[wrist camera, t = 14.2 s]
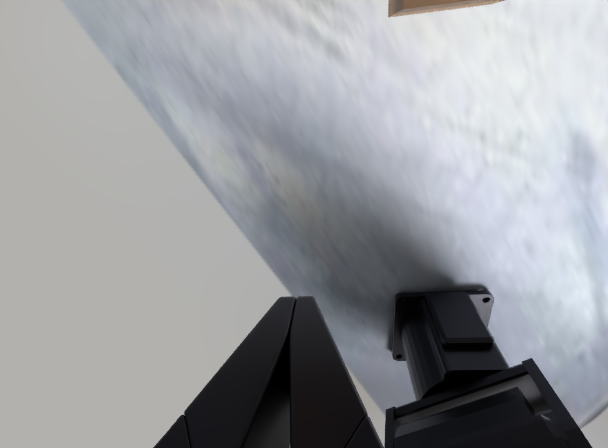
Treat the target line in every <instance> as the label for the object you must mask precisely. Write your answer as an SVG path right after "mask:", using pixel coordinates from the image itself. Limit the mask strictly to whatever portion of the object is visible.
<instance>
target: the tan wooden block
mask: <svg viewBox="0 0 608 448" xmlns="http://www.w3.org/2000/svg"><path fill="white" fill-rule="evenodd" d="M501 1H504V0H389V8H388V17H395V16H403V15H410V14H418V13H426V12H434V11H442V10H450V9H457V8H465V7H473V6H481V5H489V4H493V3H497V2H501Z"/></svg>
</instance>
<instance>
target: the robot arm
mask: <svg viewBox="0 0 608 448" xmlns="http://www.w3.org/2000/svg"><path fill="white" fill-rule="evenodd" d="M485 297H487V298H485ZM483 298H485V299H483ZM400 300H404V301H400ZM493 302H494V297H493V296H492V294H491V293H490V292H489V291H486V290H481V291H449V292H418V293H399V294H397V295H396V296H395V298H394V316H393V337H392V356H393V359H394V360H396V361H406V362H407V366H408V370H409V374H410V378H411V382H412V386H413V390H414V394H415V398H416V401H414V402H411V403H408V404H405V405H403V406H400V407H397V408H396V407H392V408H389V409H386V422H385V448H592V446H591V445H590V443H589V442H588V440H587V439H586V438H585V436H584V434H583V433H582V431H581V430H580V428H579V427H578V425H577V424H576V422H575V421H574V419H573V418H572V417H571V415H570V414H569V412H568V411H567V409H566V408H565V406H564V405H563V403H562V402H561V400H560V399H559V397H558V396H557V394H556V393H555V391H554V390H553V389H552V387H551V386H550V384H549V383H548V381H547V380H546V378H545V377H544V375H543V374H542V372H541V371H540V369H539V368H538V366H537V365H536V363H535V362H534V361H533V359H532V358H530V359H528V360H525V361H522V364H519V365H516V366H514V367H511V368H510V367H509V365H508V364H507V362H506V360H505V358H504V357H503V355H502V353H501V352H500V350H499V348H498V346H497V345H496V343H495V341H494V338H493V336H492V334H491V333H490V331H489V329H488V323H489V319H490V314H491V310H492V306H493ZM184 415H185V416H184ZM184 415H181V416H180V417H179V418H178V419H177V421H176V422H175V423H174V424H173V425H172V427H171V428H170V429H169V430H168V431H167V433H166V434H165V435H164V436H163V437H162V438H161V439H160V441H159V442H158V443H157V444H156V445H155V446H154V447H153V448H289V447H290V448H384V447H383V445H382V443H381V441H380V439H379V437H378V435H377V432H376V430H375V428H374V426H373V424H372V422H371V419H370V418H369V417H368V416H367V411H366V409H365V407H364V405H363V403H362V400H361V399H360V396H359V394H358V392H357V390H356V387H355V385H354V383H353V381H352V379H351V377H350V375H349V372H348V370H347V368H346V366H345V363H344V361H343V359H342V357H341V355H340V353H339V350H338V348H337V346H336V344H335V342H334V340H333V337H332V335H331V333H330V331H329V329H328V326H327V324H326V322H325V320H324V318H323V316H322V313H321V311H320V309H319V307H318V305H317V303H316V300H315V298H314V297H313V296H299V297H297V299H296V297H280V298H279V299H278V300H277V301H276V302H275V303H274V305H273V306H272V307H271V308H270V309H269V311H268V312H267V313H266V314H265V315H264V316H263V318H262V319H261V320H260V321H259V322H258V324H257V325H256V326H255V327H254V328H253V330H252V331H251V332H250V333H249V334H248V336H247V337H246V338H245V339H244V341H243V342H242V343H241V344H240V345H239V346H238V348H237V349H236V350H235V351H234V353H233V354H232V355H231V356H230V357H229V359H228V360H227V361H226V362H225V363H224V364H223V366H222V367H221V368H220V369H219V371H218V372H217V373H216V374H215V375H214V376H213V378H212V379H211V380H210V381H209V382H208V384H207V385H206V386H205V387H204V388H203V390H202V391H201V392H200V393H199V395H198V396H197V397H196V398H195V399H194V401H193V402H192V403H191V404H190V405H189V406H188V408H187V409H186V410H185V412H184Z"/></svg>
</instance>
